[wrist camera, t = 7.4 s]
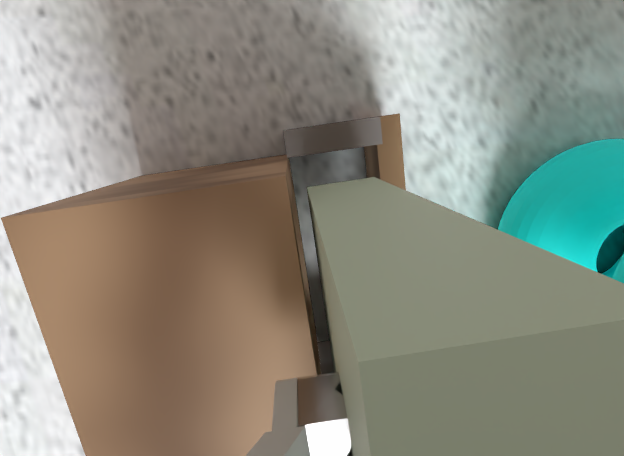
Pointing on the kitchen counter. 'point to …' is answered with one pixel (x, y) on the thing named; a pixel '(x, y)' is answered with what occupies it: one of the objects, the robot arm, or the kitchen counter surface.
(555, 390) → the pale green flat block
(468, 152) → the kitchen counter surface
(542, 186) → the donuts
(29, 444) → the kitchen counter surface
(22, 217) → the cabinet
